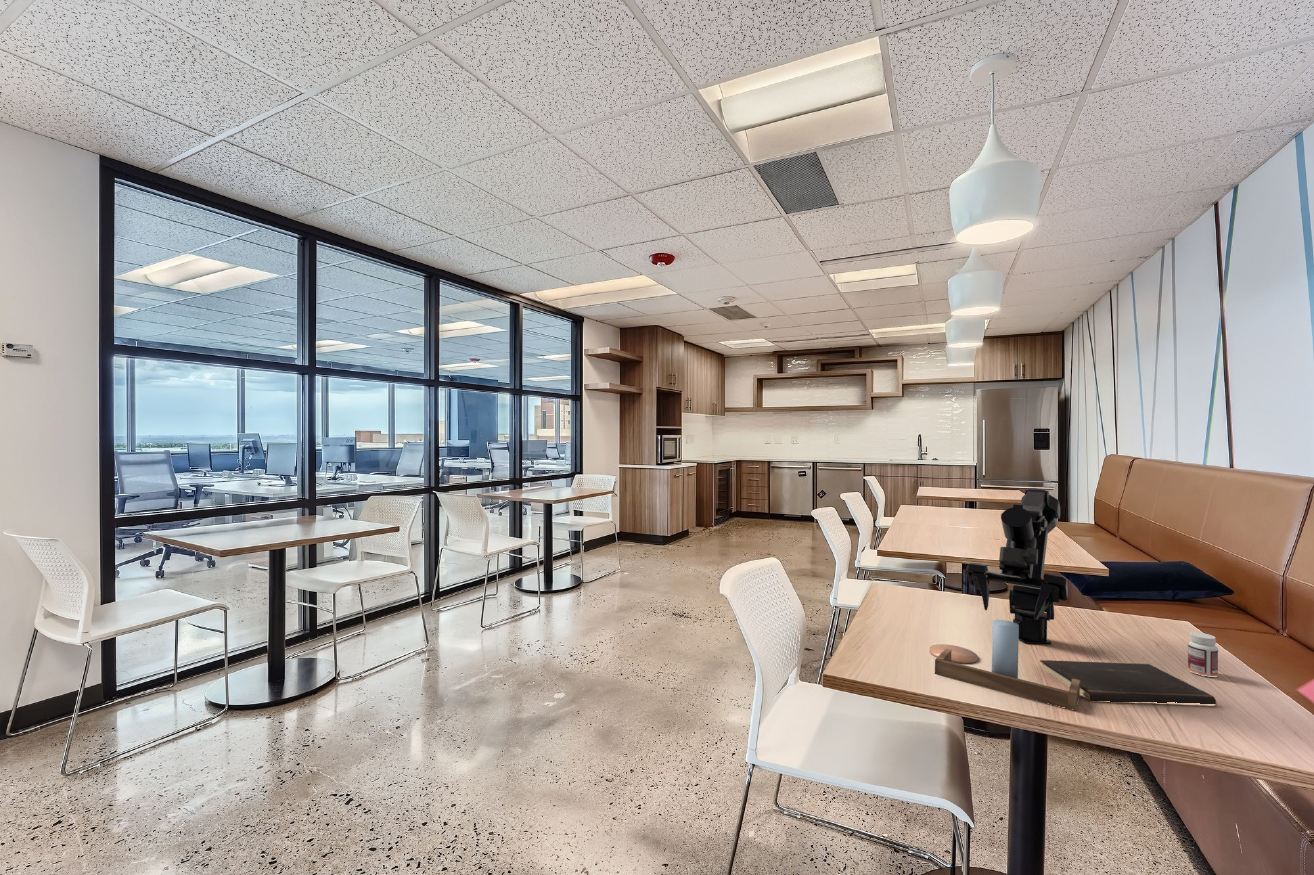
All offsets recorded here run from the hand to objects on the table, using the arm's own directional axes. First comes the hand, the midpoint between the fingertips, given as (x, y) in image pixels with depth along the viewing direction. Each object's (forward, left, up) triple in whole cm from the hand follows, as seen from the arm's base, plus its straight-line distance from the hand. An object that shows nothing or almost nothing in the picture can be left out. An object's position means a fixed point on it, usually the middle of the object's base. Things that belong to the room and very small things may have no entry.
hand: (1009, 613), depth 120 cm
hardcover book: (-21, +4, -14) cm, 25 cm away
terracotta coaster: (+6, -11, -13) cm, 18 cm away
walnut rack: (+3, +4, -13) cm, 14 cm away
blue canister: (+3, +4, -13) cm, 14 cm away
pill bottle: (-44, -3, -13) cm, 46 cm away
